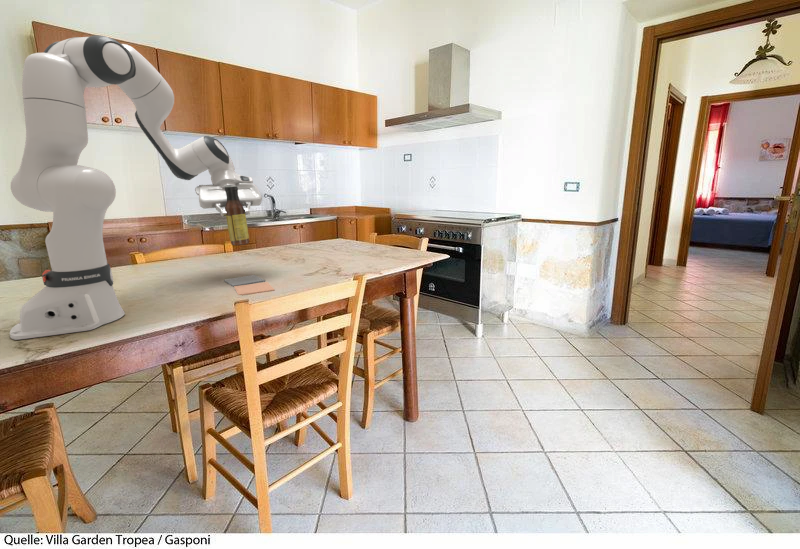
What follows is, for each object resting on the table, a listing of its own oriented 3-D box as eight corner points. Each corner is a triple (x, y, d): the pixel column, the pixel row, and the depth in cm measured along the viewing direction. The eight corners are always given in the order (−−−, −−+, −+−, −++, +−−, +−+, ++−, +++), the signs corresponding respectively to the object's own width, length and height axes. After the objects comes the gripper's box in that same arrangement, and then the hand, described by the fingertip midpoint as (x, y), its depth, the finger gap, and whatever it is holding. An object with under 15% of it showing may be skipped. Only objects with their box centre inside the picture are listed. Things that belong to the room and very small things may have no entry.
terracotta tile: (238, 297, 122) (238, 294, 122) (234, 289, 131) (233, 286, 131) (274, 292, 127) (274, 289, 127) (267, 284, 136) (267, 281, 136)
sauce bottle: (252, 242, 139) (246, 185, 134) (244, 246, 133) (237, 186, 128) (235, 242, 140) (228, 185, 134) (226, 246, 134) (218, 186, 128)
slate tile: (233, 288, 132) (233, 285, 132) (223, 282, 140) (223, 279, 140) (265, 282, 139) (265, 280, 139) (254, 277, 147) (254, 274, 147)
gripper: (193, 178, 130) (202, 210, 125) (256, 177, 141) (267, 206, 136) (194, 191, 135) (202, 222, 130) (254, 189, 146) (264, 218, 141)
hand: (236, 214), depth 133 cm, fingers closed on sauce bottle, 6 cm apart
